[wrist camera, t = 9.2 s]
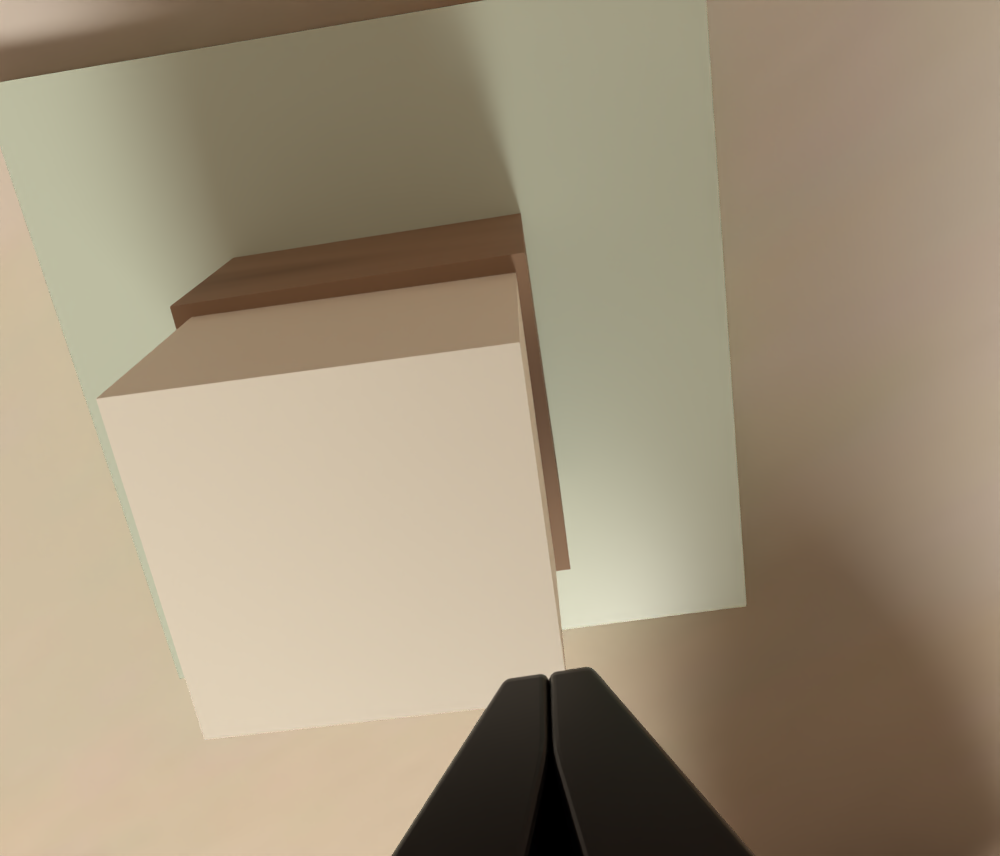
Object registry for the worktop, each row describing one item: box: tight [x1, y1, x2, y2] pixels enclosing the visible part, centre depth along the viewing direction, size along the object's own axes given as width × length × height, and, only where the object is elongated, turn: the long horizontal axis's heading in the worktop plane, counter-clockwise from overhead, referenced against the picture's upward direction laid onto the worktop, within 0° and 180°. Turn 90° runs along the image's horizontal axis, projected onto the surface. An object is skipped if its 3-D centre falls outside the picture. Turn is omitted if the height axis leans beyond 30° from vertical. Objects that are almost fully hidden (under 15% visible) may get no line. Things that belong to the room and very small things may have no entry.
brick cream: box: [96, 272, 566, 740], centre depth 15 cm, size 6×6×4 cm
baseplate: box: [0, 0, 747, 679], centre depth 21 cm, size 14×14×1 cm
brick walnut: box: [170, 213, 571, 571], centre depth 19 cm, size 6×6×4 cm
